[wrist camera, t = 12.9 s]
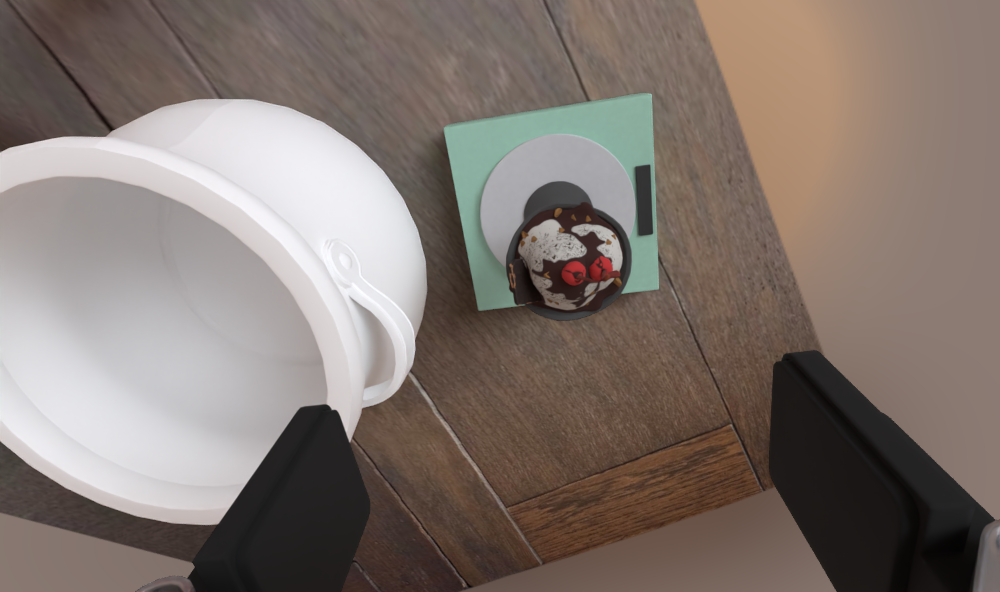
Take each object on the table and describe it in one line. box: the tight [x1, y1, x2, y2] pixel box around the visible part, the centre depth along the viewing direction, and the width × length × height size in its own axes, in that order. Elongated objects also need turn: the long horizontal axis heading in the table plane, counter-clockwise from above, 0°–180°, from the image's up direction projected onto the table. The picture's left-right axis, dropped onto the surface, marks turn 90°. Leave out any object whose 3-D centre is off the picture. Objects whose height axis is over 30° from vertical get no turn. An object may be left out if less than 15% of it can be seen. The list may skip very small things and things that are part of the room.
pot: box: [0, 99, 427, 525], centre depth 34 cm, size 26×24×18 cm
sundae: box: [506, 181, 632, 321], centre depth 29 cm, size 7×7×15 cm
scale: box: [443, 93, 659, 311], centre depth 38 cm, size 14×14×3 cm
